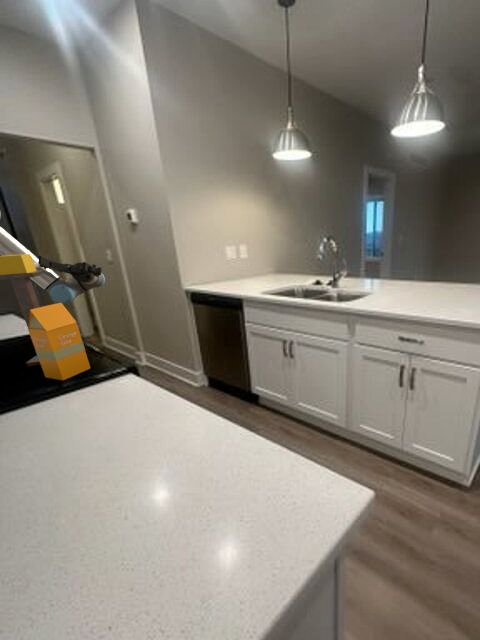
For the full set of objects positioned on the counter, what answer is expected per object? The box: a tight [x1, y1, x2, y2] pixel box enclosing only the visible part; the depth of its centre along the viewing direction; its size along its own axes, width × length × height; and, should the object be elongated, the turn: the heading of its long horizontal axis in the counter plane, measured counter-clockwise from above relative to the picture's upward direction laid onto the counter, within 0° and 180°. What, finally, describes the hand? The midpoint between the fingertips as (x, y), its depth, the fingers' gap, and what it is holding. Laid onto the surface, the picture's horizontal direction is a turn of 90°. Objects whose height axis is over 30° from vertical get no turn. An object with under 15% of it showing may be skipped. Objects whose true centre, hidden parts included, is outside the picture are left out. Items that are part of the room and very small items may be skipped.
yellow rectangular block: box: [0, 254, 39, 275], centre depth 104 cm, size 7×14×5 cm, turn 14°
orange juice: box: [27, 303, 91, 381], centre depth 97 cm, size 8×9×20 cm
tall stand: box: [0, 270, 43, 367], centre depth 106 cm, size 10×6×28 cm, turn 104°
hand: (61, 262), depth 119 cm, fingers open, 13 cm apart
